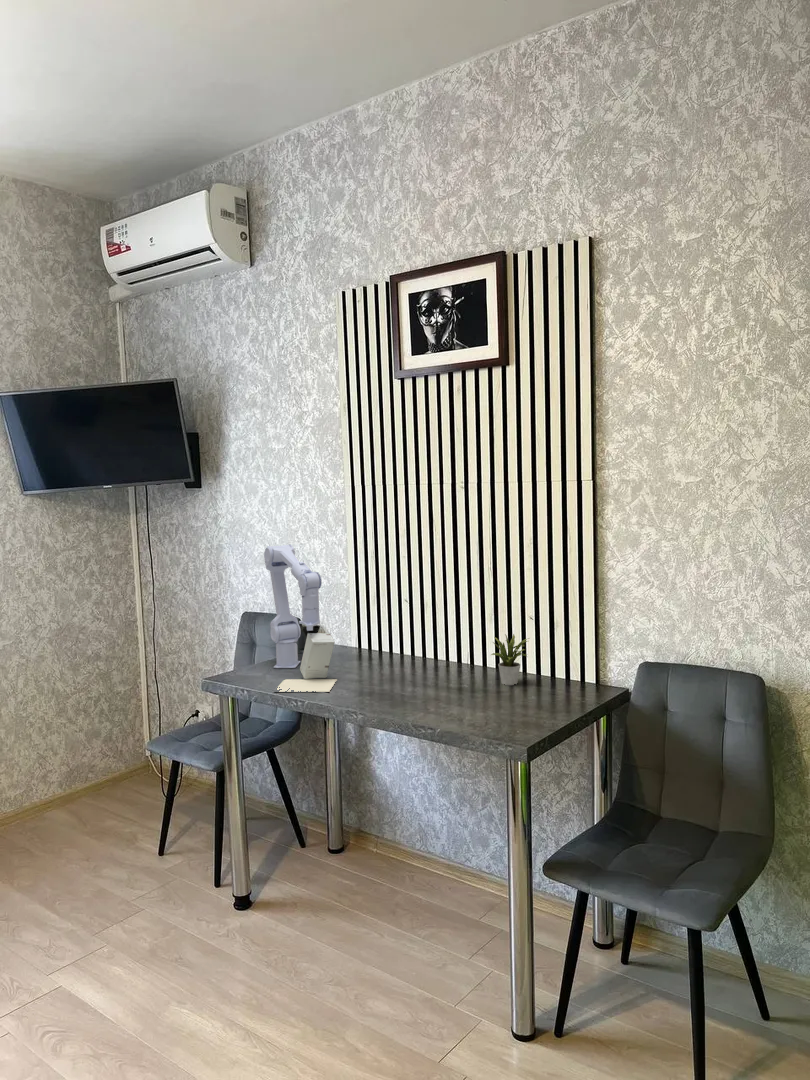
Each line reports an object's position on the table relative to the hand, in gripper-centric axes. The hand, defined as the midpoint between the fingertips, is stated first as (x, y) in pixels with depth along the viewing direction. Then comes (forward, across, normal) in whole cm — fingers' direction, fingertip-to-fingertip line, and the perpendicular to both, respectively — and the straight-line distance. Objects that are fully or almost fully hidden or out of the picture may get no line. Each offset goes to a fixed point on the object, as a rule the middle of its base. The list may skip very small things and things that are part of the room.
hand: (312, 647), depth 271 cm
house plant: (+11, +18, +65) cm, 68 cm away
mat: (+10, +11, -2) cm, 16 cm away
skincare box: (+9, 0, 0) cm, 9 cm away
